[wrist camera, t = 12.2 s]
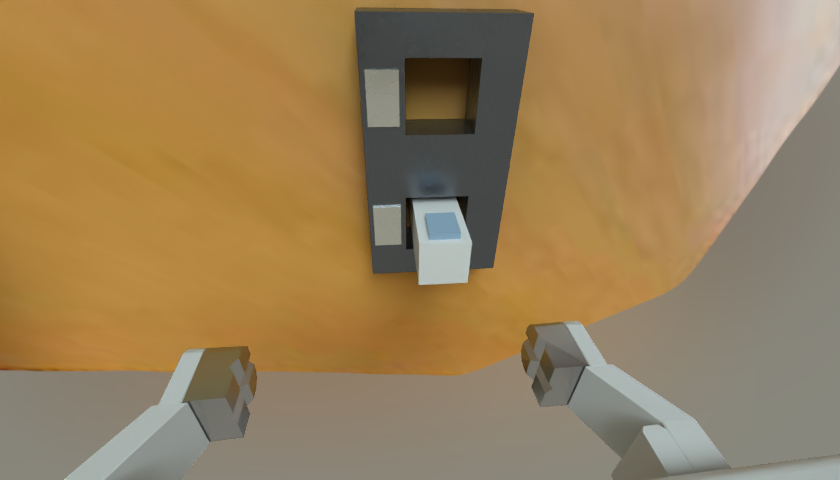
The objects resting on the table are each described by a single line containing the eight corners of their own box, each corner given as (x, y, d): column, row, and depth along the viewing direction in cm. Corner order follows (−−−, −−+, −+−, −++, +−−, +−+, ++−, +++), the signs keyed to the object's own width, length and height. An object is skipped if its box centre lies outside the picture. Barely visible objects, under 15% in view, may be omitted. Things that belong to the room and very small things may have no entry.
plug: (409, 220, 39) (418, 285, 30) (409, 178, 36) (419, 237, 28) (448, 218, 39) (467, 282, 31) (451, 177, 36) (472, 235, 28)
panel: (373, 249, 40) (373, 274, 37) (357, 7, 28) (354, 11, 24) (483, 244, 41) (493, 269, 38) (515, 9, 29) (535, 13, 25)
